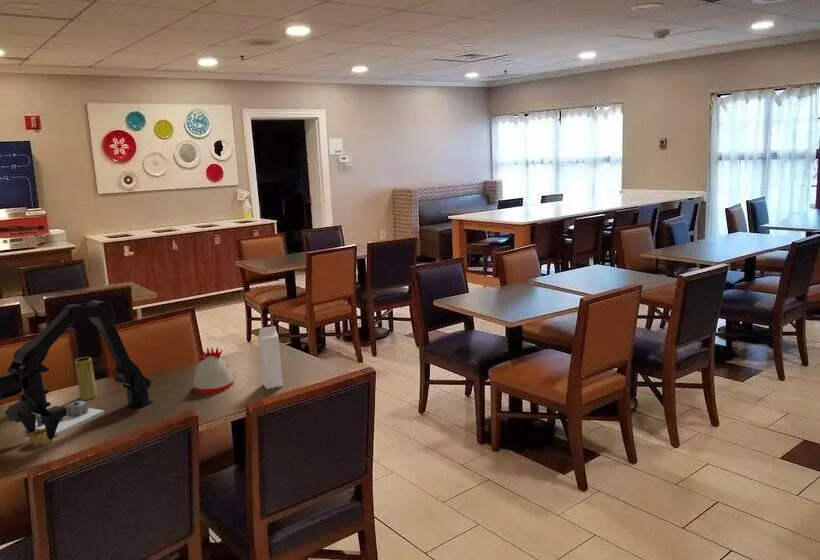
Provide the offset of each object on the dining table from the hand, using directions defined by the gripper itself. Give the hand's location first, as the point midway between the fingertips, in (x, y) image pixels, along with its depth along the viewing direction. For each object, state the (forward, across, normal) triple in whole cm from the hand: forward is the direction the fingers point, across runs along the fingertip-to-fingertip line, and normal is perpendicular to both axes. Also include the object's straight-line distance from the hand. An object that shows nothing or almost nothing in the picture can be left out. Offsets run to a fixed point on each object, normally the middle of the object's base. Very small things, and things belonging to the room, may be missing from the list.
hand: (41, 437), depth 195 cm
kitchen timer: (+2, +20, +54) cm, 58 cm away
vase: (+2, -18, +32) cm, 37 cm away
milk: (+2, +41, +62) cm, 74 cm away
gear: (+1, 0, 0) cm, 1 cm away
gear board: (+1, -6, +14) cm, 15 cm away
